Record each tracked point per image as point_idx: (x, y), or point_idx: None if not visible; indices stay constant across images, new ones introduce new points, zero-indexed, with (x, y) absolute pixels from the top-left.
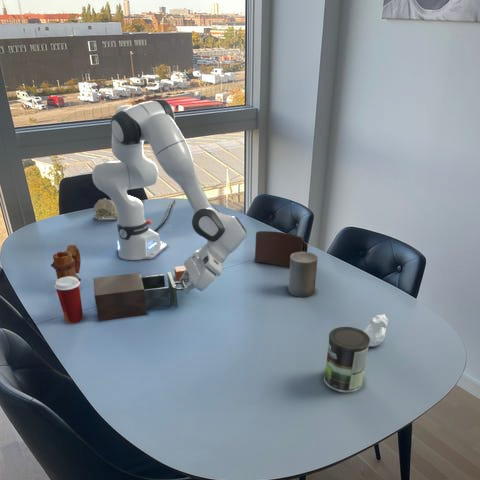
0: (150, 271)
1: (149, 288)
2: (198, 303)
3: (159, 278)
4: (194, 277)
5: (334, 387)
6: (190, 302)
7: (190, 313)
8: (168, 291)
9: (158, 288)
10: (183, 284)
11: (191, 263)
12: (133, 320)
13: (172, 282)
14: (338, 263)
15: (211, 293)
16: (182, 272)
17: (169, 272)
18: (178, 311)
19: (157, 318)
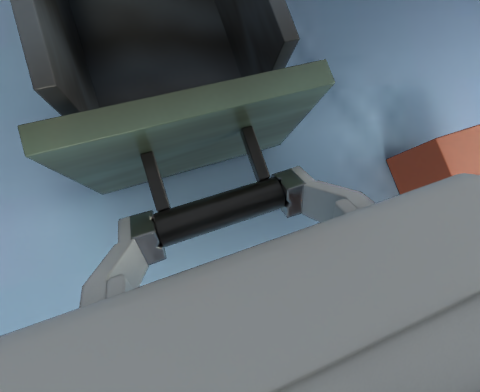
0: (466, 39)
1: (232, 16)
2: None
3: (265, 27)
4: (47, 370)
5: None
6: (190, 250)
7: (63, 268)
8: (52, 104)
9: (22, 9)
10: (202, 206)
11: (424, 269)
12: (6, 2)
13: (131, 112)
14: None
15: None
16: (440, 173)
17: (326, 75)
18: (90, 200)
19: (17, 106)
